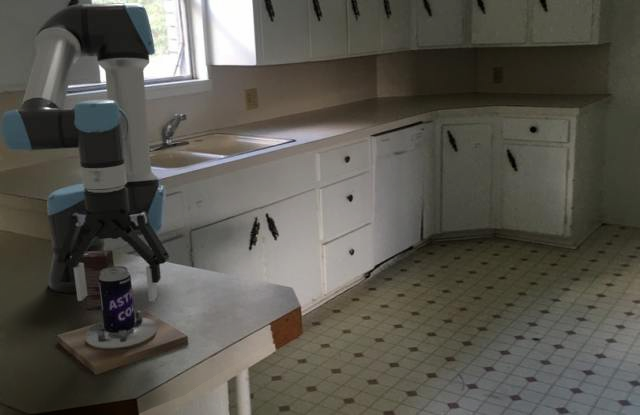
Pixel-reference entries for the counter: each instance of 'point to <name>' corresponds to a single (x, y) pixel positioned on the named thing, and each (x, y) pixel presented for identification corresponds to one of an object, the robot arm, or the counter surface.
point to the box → (95, 275)
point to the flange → (121, 335)
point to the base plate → (110, 360)
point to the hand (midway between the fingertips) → (117, 298)
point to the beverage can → (116, 299)
